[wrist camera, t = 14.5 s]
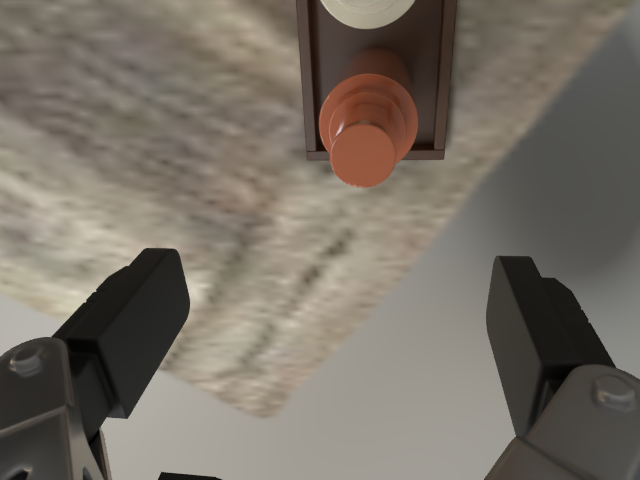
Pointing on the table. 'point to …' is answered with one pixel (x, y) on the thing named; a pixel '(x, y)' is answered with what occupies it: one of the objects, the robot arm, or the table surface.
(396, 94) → the terracotta bottle
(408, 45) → the tray
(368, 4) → the cream bottle
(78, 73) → the table surface
